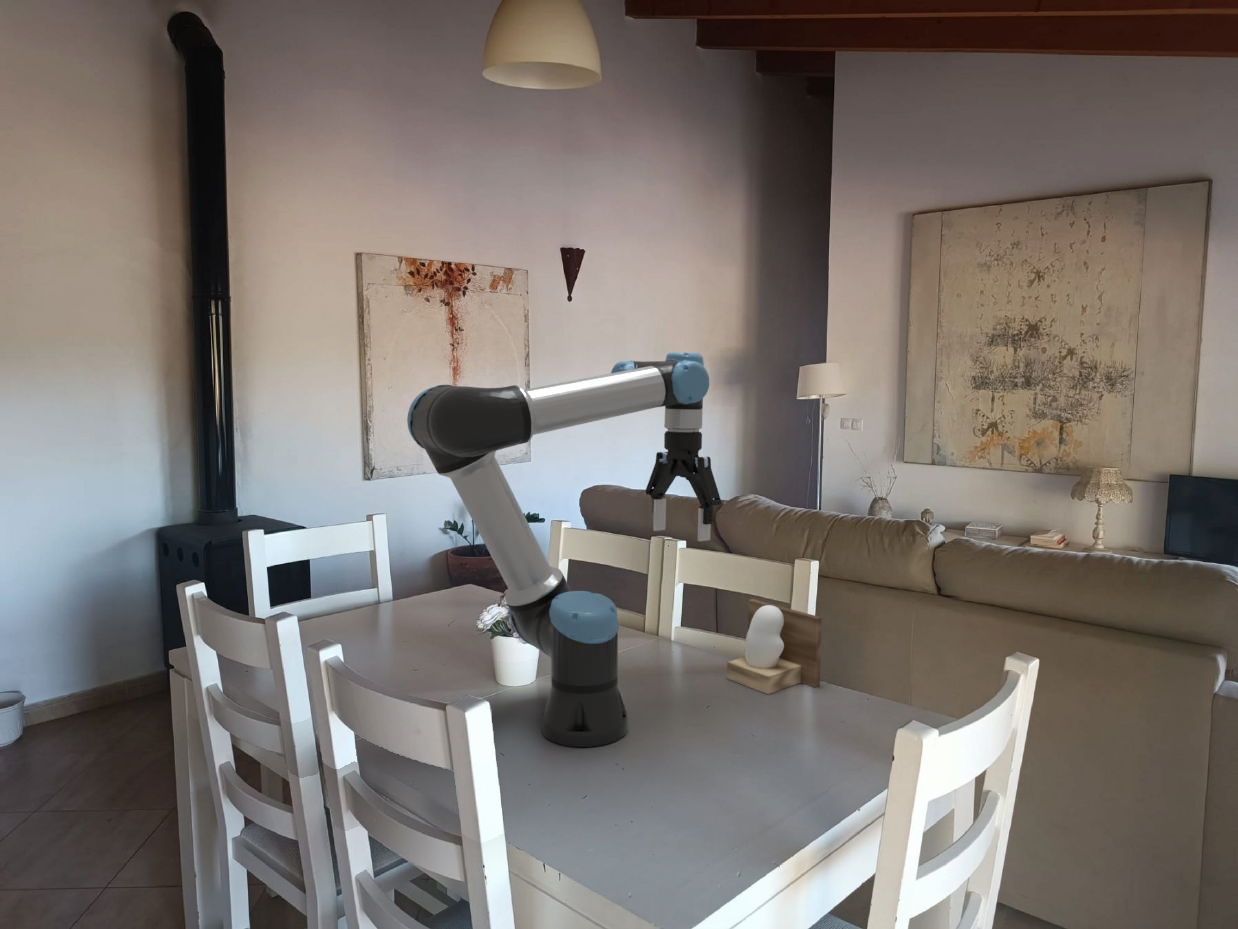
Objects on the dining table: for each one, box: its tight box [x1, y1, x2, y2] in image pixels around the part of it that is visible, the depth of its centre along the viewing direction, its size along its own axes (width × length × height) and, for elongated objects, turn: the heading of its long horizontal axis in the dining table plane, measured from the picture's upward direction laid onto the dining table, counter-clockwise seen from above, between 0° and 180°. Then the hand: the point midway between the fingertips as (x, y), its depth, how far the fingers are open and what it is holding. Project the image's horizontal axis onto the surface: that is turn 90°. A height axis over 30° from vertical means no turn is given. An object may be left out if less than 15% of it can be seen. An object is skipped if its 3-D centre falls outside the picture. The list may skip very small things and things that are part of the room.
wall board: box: [726, 598, 822, 695], centre depth 175 cm, size 12×18×14 cm, turn 39°
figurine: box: [744, 605, 784, 668], centre depth 174 cm, size 7×8×12 cm
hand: (680, 535), depth 174 cm, fingers open, 13 cm apart
